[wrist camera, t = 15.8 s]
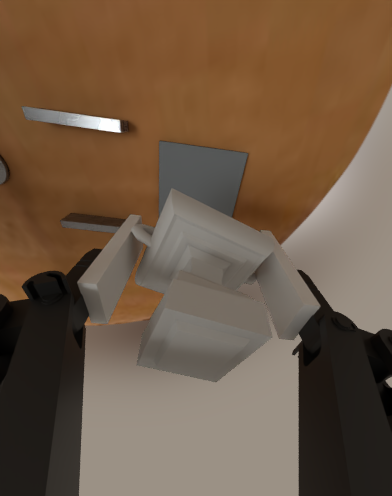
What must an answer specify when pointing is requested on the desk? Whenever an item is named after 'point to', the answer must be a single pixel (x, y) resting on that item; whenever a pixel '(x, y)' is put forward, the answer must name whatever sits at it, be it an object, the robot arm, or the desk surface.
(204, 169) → the pad
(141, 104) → the desk surface
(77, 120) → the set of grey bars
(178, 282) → the stamp
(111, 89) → the desk surface
